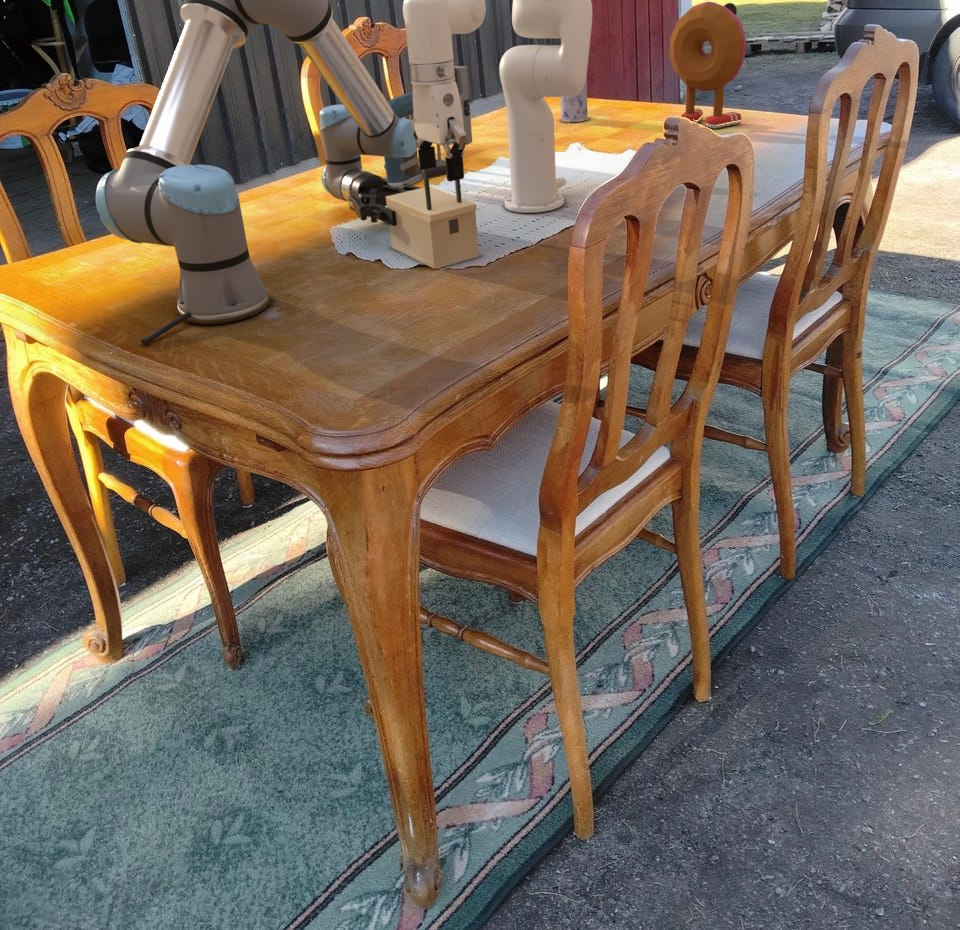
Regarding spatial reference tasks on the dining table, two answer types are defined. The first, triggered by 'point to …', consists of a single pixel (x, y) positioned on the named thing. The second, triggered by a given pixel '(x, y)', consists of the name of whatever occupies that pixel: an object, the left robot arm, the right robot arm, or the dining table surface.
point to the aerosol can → (575, 107)
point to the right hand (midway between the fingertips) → (441, 175)
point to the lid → (432, 199)
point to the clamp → (407, 167)
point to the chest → (435, 238)
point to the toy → (708, 56)
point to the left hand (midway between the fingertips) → (418, 212)
